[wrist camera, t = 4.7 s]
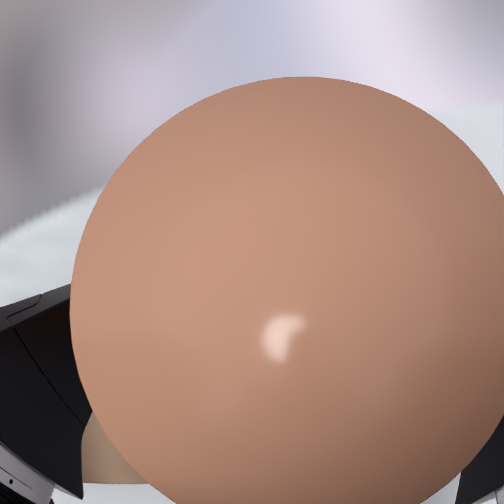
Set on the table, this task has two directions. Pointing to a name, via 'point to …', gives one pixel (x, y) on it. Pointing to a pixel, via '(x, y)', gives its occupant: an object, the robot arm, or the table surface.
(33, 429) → the robot arm
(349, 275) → the peach cylinder
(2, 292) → the table surface
